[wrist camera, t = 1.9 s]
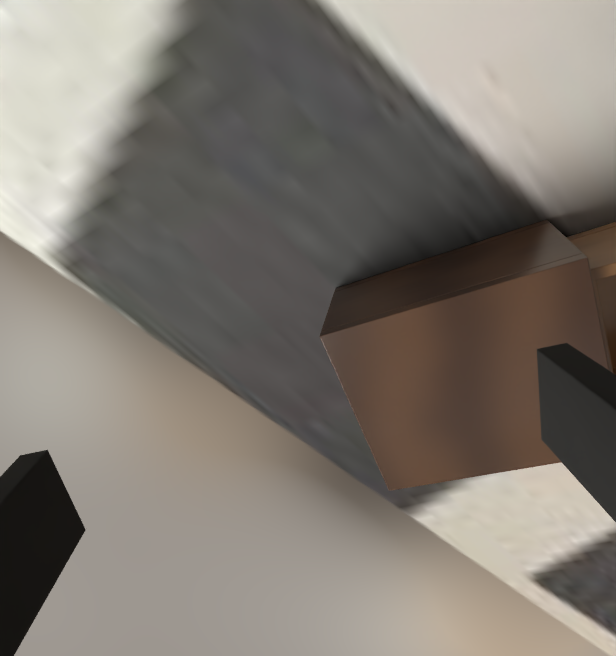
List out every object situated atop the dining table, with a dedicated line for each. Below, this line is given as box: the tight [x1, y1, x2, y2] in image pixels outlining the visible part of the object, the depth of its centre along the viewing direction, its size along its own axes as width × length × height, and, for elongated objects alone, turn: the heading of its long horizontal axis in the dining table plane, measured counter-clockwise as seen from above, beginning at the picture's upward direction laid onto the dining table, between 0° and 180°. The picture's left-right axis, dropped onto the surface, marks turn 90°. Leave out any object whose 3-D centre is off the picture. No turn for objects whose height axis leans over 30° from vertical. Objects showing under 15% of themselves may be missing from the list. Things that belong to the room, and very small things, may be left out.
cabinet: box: [320, 220, 609, 491], centre depth 35 cm, size 17×15×9 cm
